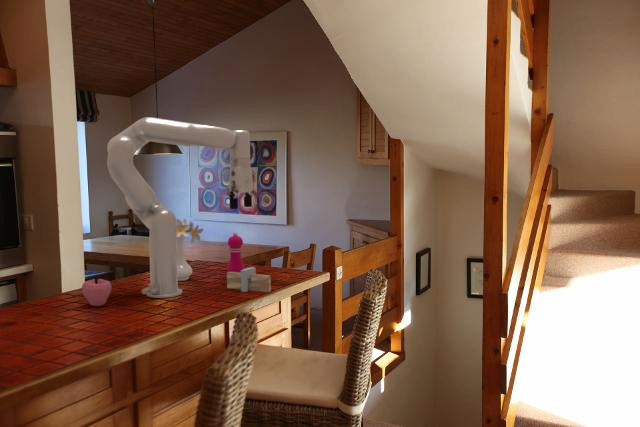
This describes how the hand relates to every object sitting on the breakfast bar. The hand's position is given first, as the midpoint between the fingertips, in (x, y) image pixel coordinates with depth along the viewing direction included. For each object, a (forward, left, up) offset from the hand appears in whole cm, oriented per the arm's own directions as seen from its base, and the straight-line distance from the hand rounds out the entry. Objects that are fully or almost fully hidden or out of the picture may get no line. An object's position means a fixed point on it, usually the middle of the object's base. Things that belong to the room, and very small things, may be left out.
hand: (241, 207), depth 224 cm
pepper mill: (+6, +7, -31) cm, 32 cm away
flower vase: (0, +29, -31) cm, 42 cm away
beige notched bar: (-5, -6, -30) cm, 31 cm away
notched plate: (-5, -6, -30) cm, 31 cm away
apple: (-46, +28, -31) cm, 62 cm away
